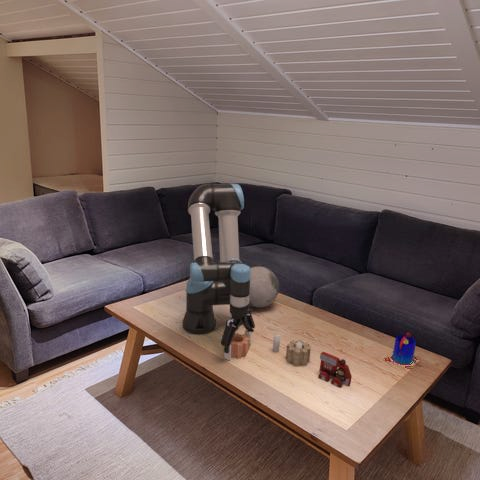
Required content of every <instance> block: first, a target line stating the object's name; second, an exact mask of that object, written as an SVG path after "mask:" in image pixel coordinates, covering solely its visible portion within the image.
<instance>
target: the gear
mask: <svg viewBox="0 0 480 480" xmlns="http://www.w3.org/2000/svg"><path fill="white" fill-rule="evenodd" d="M297 342H301V343H302V349H296V343H297ZM311 347H312V346H310V343H309V342H304V341H303V340H300V339H298V340H296V341H295V340H294V339H293V340H290V341H289V342H287V344H286V355H285V359H286V361H287V363H288V364H292V365H293V366H295V367H299V366H302V367H305V366H307V365H308V363H310V359H311V350H312V349H311Z"/></svg>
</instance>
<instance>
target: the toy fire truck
mask: <svg viewBox="0 0 480 480" xmlns="http://www.w3.org/2000/svg"><path fill="white" fill-rule="evenodd" d="M319 358H320V364H319V374H318V376H317V378H318V379H320V380H322V381H324V382H327V383H328V382H330V384H331V385H333V386H334V387H337V388H338V389H339V388H342V387H343V385H344V386H347V387H348V386H350V385H351V383H352V373H351V370H350V367H349V365H348V364H347V362H346V359H343V358H341V359H340V358H339V357H338V356H335V355H333V354H330V353H328V352H327V351H326V352H325V351H322V352H321V353H320V355H319Z"/></svg>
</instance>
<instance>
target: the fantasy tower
mask: <svg viewBox="0 0 480 480" xmlns="http://www.w3.org/2000/svg"><path fill="white" fill-rule="evenodd" d="M416 344H417V341H416V339H415V338H414V337H413V336H412V334H411V333H409V332H407V333H406V334H398V335H397V336H395V340H394V347H393V350H394V351H393V350H392V354H393V355H392V354H391V355H392V356H391V355H390V356H391V357H390V356H387V357H384V358H383V360H384V359H385V360H384V361H385V362H386V361H389V362H391V363H392V361H391V360H390V358H391V359H392V360H393V362H395V363H397V364H400V365H411V364H412V363H413V362H414V361H415V360H414V359H413V358H415V359H416V360H418V358H419V357H417V356H416V357H415V355H414V354H415V351H416ZM389 357H390V358H389ZM412 361H413V362H412ZM389 362H388V363H389ZM411 362H412V363H411ZM410 363H411V364H410ZM405 368H407V369H411V366H405Z"/></svg>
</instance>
